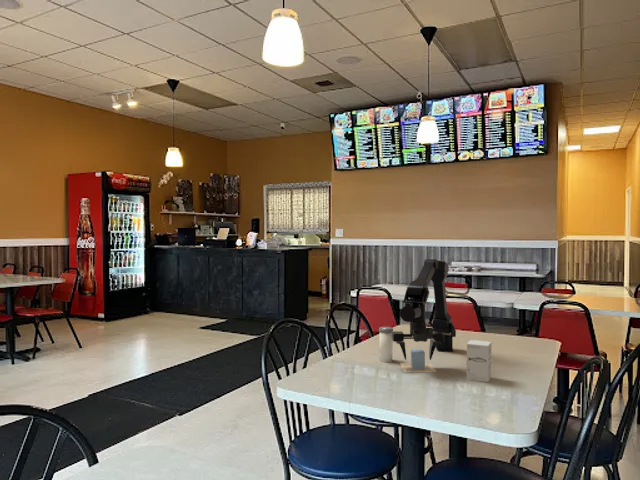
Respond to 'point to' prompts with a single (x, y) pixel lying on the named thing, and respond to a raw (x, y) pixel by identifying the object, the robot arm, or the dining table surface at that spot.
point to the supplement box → (479, 360)
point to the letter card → (408, 368)
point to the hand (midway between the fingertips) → (417, 359)
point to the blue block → (417, 359)
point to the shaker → (385, 344)
